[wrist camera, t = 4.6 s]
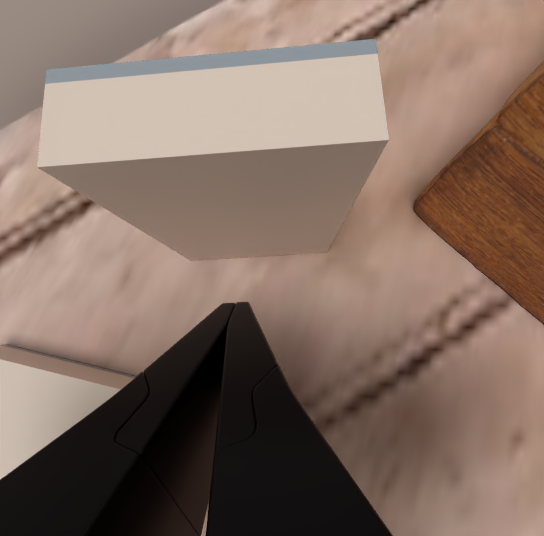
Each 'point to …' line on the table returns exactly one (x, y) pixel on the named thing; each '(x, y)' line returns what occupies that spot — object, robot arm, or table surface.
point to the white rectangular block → (222, 144)
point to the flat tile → (46, 400)
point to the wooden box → (498, 197)
